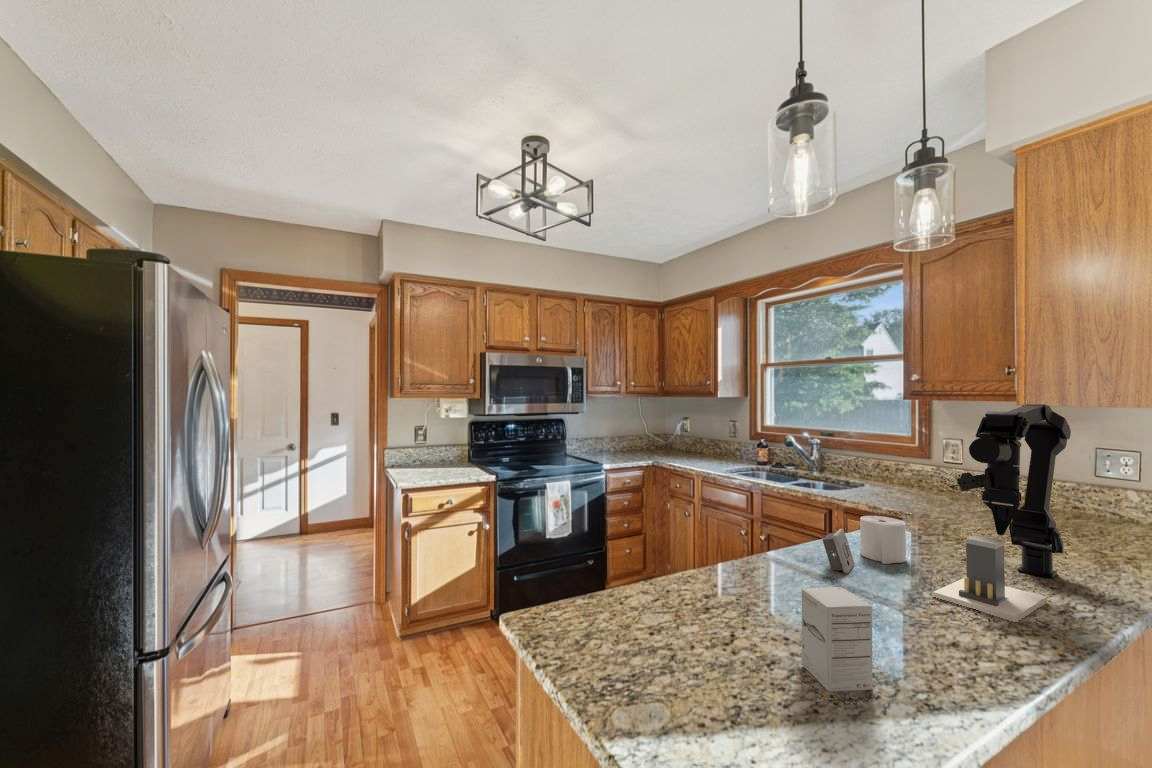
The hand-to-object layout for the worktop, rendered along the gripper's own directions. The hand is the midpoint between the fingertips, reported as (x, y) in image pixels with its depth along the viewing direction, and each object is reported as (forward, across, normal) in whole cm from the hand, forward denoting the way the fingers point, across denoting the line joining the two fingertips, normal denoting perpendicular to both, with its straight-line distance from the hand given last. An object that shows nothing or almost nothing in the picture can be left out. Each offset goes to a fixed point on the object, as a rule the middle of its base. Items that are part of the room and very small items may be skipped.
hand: (1001, 532), depth 113 cm
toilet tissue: (+13, -7, -24) cm, 28 cm away
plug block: (+12, +12, -2) cm, 17 cm away
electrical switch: (+15, +10, -31) cm, 36 cm away
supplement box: (+20, +65, -16) cm, 70 cm away
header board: (+14, +10, -1) cm, 17 cm away
